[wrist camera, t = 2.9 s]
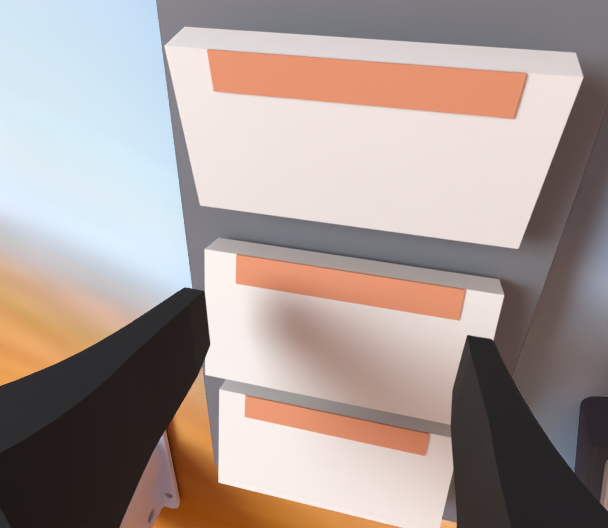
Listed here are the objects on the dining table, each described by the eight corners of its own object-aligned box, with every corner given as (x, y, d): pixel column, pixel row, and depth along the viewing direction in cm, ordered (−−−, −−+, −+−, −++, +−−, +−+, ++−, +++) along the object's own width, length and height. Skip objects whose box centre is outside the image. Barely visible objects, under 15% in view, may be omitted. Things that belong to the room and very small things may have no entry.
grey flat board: (459, 475, 25) (459, 523, 23) (232, 425, 27) (214, 464, 25) (801, -586, 9) (909, -747, 6) (151, -493, 11) (81, -591, 9)
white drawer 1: (437, 511, 21) (437, 537, 20) (228, 462, 23) (217, 483, 22) (458, 418, 19) (460, 441, 18) (230, 372, 21) (218, 390, 20)
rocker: (469, 406, 17) (471, 430, 16) (218, 357, 19) (204, 375, 18) (498, 279, 16) (504, 296, 14) (218, 237, 17) (203, 249, 16)
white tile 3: (516, 220, 14) (518, 250, 14) (214, 182, 16) (198, 207, 15) (576, 52, 11) (583, 78, 10) (184, 26, 13) (163, 46, 12)
